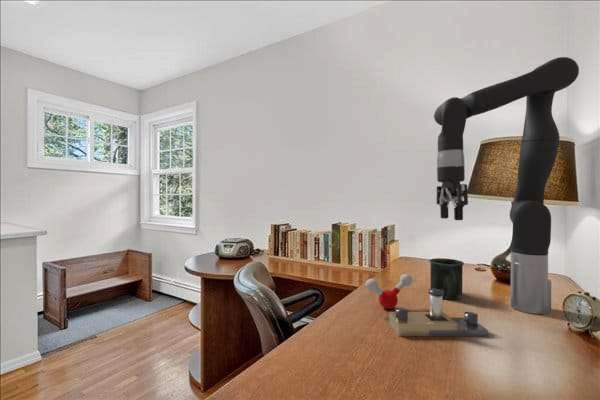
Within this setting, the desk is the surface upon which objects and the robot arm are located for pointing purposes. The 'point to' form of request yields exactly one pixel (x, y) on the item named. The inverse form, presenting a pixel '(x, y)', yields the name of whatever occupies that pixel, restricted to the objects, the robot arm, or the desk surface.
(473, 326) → the two-tone base plate
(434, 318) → the pin
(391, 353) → the desk surface
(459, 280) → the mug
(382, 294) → the molecular model
